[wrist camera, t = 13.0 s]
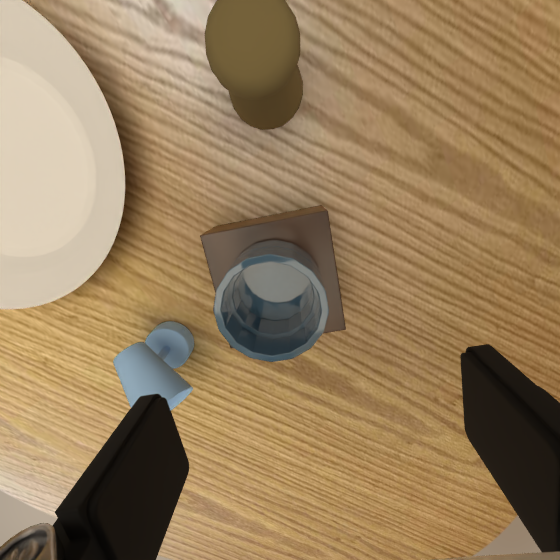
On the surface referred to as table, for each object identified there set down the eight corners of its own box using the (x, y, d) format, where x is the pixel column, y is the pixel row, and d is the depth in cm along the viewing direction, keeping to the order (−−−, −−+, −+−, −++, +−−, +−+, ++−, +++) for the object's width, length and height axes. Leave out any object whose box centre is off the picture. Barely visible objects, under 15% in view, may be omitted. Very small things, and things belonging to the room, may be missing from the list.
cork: (316, 69, 26) (332, -3, 16) (282, 142, 28) (276, 121, 18) (247, 31, 26) (217, -70, 15) (217, 108, 28) (171, 65, 17)
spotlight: (216, 349, 34) (164, 306, 33) (187, 416, 25) (111, 358, 23) (187, 379, 35) (135, 338, 34) (148, 453, 26) (74, 400, 25)
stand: (321, 205, 30) (327, 210, 25) (338, 307, 32) (346, 329, 28) (214, 226, 30) (199, 235, 26) (239, 324, 33) (230, 348, 28)
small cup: (312, 230, 25) (318, 244, 20) (327, 318, 27) (336, 352, 22) (219, 248, 26) (200, 266, 21) (241, 333, 28) (229, 368, 23)
